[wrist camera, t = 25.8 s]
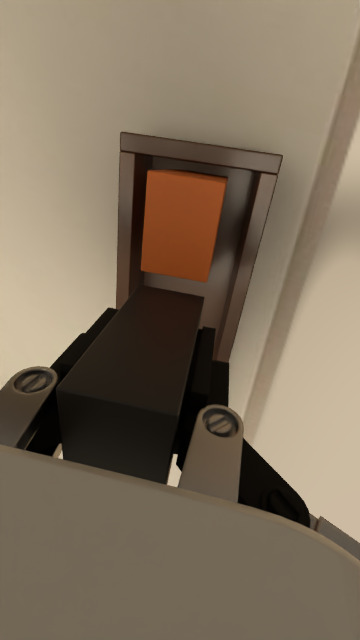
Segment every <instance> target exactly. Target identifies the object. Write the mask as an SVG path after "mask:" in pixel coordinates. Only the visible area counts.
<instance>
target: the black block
mask: <svg viewBox="0 0 360 640" xmlns="http://www.w3.org/2000/svg"><path fill="white" fill-rule="evenodd" d="M204 299H205V297H203V296H198V295H193V294H187V293H182V292H177V291H171V290H166V289H161V288H155V287H150V286H145V285H139V286H138V287H137V288H136V290H135V291H134V292H133V293H132V294H131V296H130V297H129V298H128V299H127V301H126V302H125V303H124V304H123V306H122V307H121V308H120V309H119V311H118V312H117V313H116V314H115V316H114V317H113V318H112V319H111V321H110V322H109V323H108V324H107V326H106V327H105V328H104V329H103V330H102V332H101V333H100V334H99V335H98V337H97V338H96V339H95V340H94V342H93V343H92V344H91V345H90V347H89V348H88V349H87V350H86V352H85V353H84V354H83V355H82V357H81V358H80V359H79V360H78V362H77V363H76V364H75V365H74V366H73V368H72V369H71V370H70V371H69V373H68V374H67V375H66V376H65V378H64V379H63V380H62V381H61V383H60V384H59V385H58V386H57V388H56V395H57V404H58V414H59V423H60V433H61V442H62V452H63V460H67V461H71V462H76V463H80V464H84V465H88V466H92V467H96V468H100V469H104V470H108V471H113V472H117V473H121V474H125V475H129V476H133V477H137V478H141V479H145V480H149V481H153V482H157V483H161V484H165V485H167V483H168V478H169V473H170V468H171V463H172V459H173V452H174V447H175V441H176V436H177V431H178V425H179V420H180V414H181V409H182V404H183V398H184V393H185V388H186V383H187V379H188V374H189V369H190V365H191V360H192V355H193V351H194V346H195V342H196V337H197V332H198V329H199V325H200V320H201V315H202V310H203V304H204Z"/></svg>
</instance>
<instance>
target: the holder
mask: <svg viewBox="0 0 360 640" xmlns="http://www.w3.org/2000/svg"><path fill="white" fill-rule="evenodd" d="M282 159H283V155H280V154H273V153H266V152H259V151H252V150H245V149H238V148H231V147H224V146H218V145H211V144H204V143H197V142H190V141H183V140H176V139H169V138H162V137H156V136H149V135H142V134H135V133H128V132H121V133H120V163H119V205H118V246H117V288H116V309H118V310H119V309H120V308H121V307H122V306H123V304H124V303H125V302H126V301H127V299H128V298H129V297H130V296H131V294H132V293H133V292H134V291H135V290H136V288H137V287H138V286H139V285H145V286H150V287H155V288H161V289H166V290H171V291H177V292H182V293H187V294H193V295H198V296H203V297H205V299H204V304H203V310H202V315H201V320H200V325H199V329H202V328H203V326H205V327H210V328H215V329H216V331H215V340H214V350H213V360H218V361H223V362H228V361H229V358H230V354H231V350H232V346H233V343H234V339H235V335H236V331H237V328H238V324H239V320H240V316H241V313H242V309H243V305H244V301H245V298H246V294H247V290H248V286H249V283H250V279H251V275H252V271H253V268H254V264H255V260H256V257H257V253H258V249H259V245H260V242H261V238H262V234H263V230H264V227H265V223H266V219H267V215H268V212H269V208H270V204H271V200H272V197H273V193H274V189H275V185H276V182H277V178H278V175H277V174H278V173H279V170H280V166H281V163H282ZM170 169H182V170H188V171H194V172H201V173H207V174H214V175H220V176H227V177H228V182H227V187H226V192H225V197H224V202H223V208H222V213H221V218H220V223H219V228H218V233H217V239H216V244H215V248H214V253H213V258H212V262H211V267H210V272H209V276H208V281H207V282H206V283H205V282H200V281H194V280H189V279H184V278H178V277H173V276H167V275H162V274H156V273H151V272H146V271H141V259H142V245H143V230H144V216H145V201H146V186H147V172H148V171H149V170H170Z"/></svg>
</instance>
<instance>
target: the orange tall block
mask: <svg viewBox="0 0 360 640" xmlns="http://www.w3.org/2000/svg"><path fill="white" fill-rule="evenodd" d="M227 182H228V177H227V176H220V175H214V174H207V173H201V172H194V171H188V170H182V169H170V170H149V171H148V172H147V186H146V201H145V216H144V230H143V245H142V259H141V271H146V272H151V273H156V274H162V275H167V276H173V277H178V278H184V279H189V280H194V281H200V282H205V283H206V282H207V281H208V276H209V272H210V267H211V262H212V258H213V253H214V248H215V244H216V239H217V233H218V228H219V223H220V218H221V213H222V208H223V202H224V197H225V192H226V187H227Z"/></svg>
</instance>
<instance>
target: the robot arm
mask: <svg viewBox="0 0 360 640" xmlns="http://www.w3.org/2000/svg"><path fill="white" fill-rule="evenodd" d="M118 311H119V310H118V309H113V308H108V309H107V310H106V311H105V312H104V313H103V314H102V315H101V316H100V317H99V319H98V320H97V321H96V322H95V323H94V324H93V325H92V326H91V328H90V329H89V330H88V331H87V332H86V333H82V334H80V335H79V336H78V337H77V338H76V339H75V341H74V342H73V343H72V344H71V345H70V346H69V347H68V348H67V349H66V350H65V351H64V352H63V354H62V355H61V356H60V357H59V358H58V359H57V360H56V361H55V362H54V363H53V364H52V366H51V367H50V368H48V367H40V366H37V367H30V368H27V369H24V370H22V371H20V372H18V373H16V374H15V375H14V376H13V377H12V378H11V379H10V380H9V381H8V382H7V383H6V384H5V386H4V387H3V388H2V389H1V390H0V640H360V543H358V542H357V541H355V540H354V539H353V538H351V537H350V536H349V535H347V534H346V533H344V532H343V531H341V530H340V529H339V528H337V527H336V526H334V525H333V524H331V523H330V522H329V521H327V520H326V519H324V518H323V517H321V516H320V518H319V519H317V518H316V517H314V516H313V515H311V514H310V513H309V510H308V508H307V507H306V504H305V502H304V501H303V500H302V498H301V497H300V496H299V495H298V493H297V492H296V491H295V490H294V489H293V488H292V487H291V486H290V485H289V484H288V483H287V482H286V481H285V480H283V478H282V477H281V476H280V475H279V474H278V473H277V472H276V471H275V470H274V469H273V468H272V467H271V466H270V465H269V464H268V463H267V462H266V461H265V460H264V459H263V458H262V457H261V456H260V455H259V454H258V453H257V452H256V451H255V450H254V449H253V448H252V447H251V446H250V445H249V444H248V443H247V442H246V440H245V439H244V438H243V431H244V427H243V422H242V420H241V418H240V416H239V415H238V414H237V413H236V412H235V411H233V410H232V409H230V408H228V395H229V363H228V362H223V361H218V360H213V350H214V340H215V331H216V329H215V328H210V327H205V326H203V328H202V329H198V332H197V337H196V342H195V346H194V351H193V355H192V360H191V365H190V369H189V374H188V379H187V383H186V388H185V393H184V398H183V404H182V409H181V414H180V420H179V425H178V431H177V436H176V441H175V447H174V452H173V454H178V457H177V462H176V465H177V466H178V467H179V469H180V470H181V472H182V473H181V476H180V480H179V484H178V487H173V486H169V485H165V484H161V483H157V482H153V481H149V480H145V479H141V478H137V477H133V476H129V475H125V474H121V473H117V472H113V471H108V470H104V469H100V468H96V467H92V466H88V465H84V464H80V463H76V462H71V461H67V460H63V459H59V458H58V457H59V455H60V453H61V451H62V442H61V433H60V423H59V414H58V404H57V395H56V388H57V386H58V385H59V384H60V383H61V381H62V380H63V379H64V378H65V376H66V375H67V374H68V373H69V371H70V370H71V369H72V368H73V366H74V365H75V364H76V363H77V362H78V360H79V359H80V358H81V357H82V355H83V354H84V353H85V352H86V350H87V349H88V348H89V347H90V345H91V344H92V343H93V342H94V340H95V339H96V338H97V337H98V335H99V334H100V333H101V332H102V330H103V329H104V328H105V327H106V326H107V324H108V323H109V322H110V321H111V319H112V318H113V317H114V316H115V314H116V313H117V312H118Z"/></svg>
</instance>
